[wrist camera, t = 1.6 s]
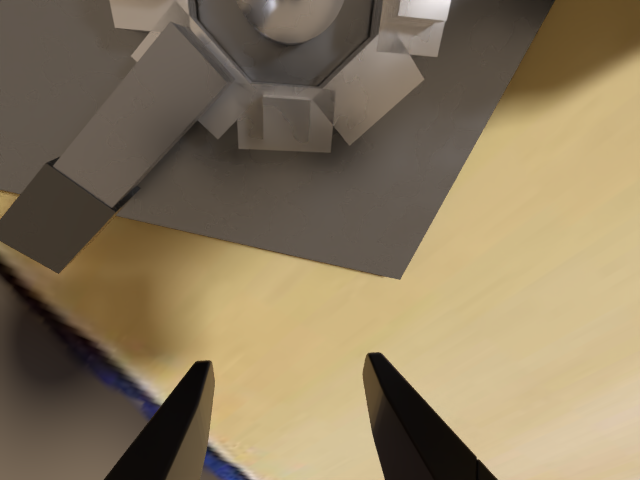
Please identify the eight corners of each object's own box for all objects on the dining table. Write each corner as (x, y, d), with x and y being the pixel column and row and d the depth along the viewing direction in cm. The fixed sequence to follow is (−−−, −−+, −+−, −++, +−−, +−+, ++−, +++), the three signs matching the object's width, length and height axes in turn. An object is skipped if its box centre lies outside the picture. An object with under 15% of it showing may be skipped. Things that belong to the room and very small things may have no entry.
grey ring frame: (295, -449, 9) (313, -941, 4) (491, 7, 14) (582, -15, 10) (-58, 104, 14) (-207, 124, 10) (192, 275, 20) (168, 335, 15)
